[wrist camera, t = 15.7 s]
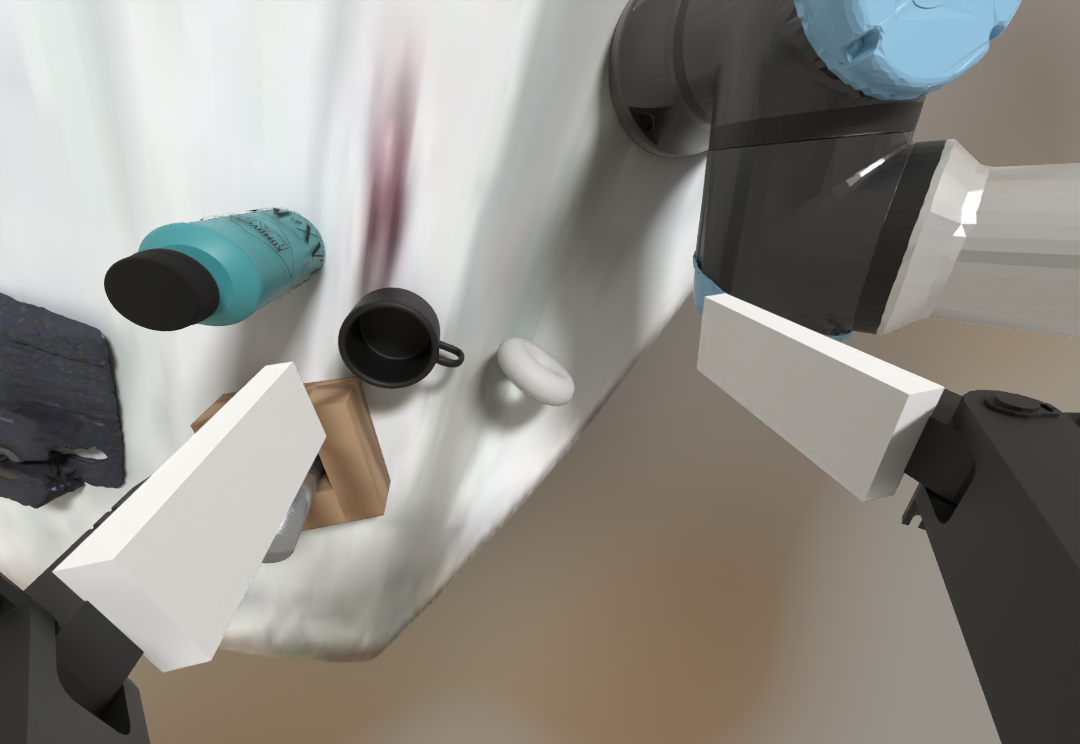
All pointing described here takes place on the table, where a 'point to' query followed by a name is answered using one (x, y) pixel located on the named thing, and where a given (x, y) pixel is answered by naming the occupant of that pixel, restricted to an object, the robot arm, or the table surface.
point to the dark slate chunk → (54, 405)
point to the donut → (535, 372)
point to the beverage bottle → (214, 269)
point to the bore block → (340, 454)
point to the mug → (393, 339)
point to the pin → (295, 516)
